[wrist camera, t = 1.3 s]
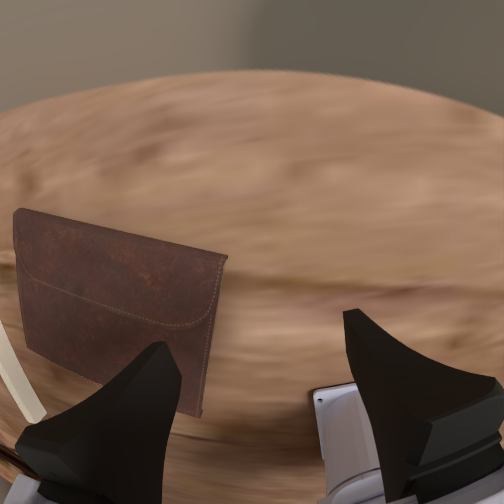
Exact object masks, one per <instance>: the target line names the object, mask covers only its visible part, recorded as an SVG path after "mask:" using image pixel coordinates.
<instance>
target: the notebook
mask: <svg viewBox="0 0 504 504" xmlns="http://www.w3.org/2000/svg"><path fill="white" fill-rule="evenodd" d="M13 243H14V250H15V254H16V267H17V280H18V290H19V299H20V307H21V314H22V321H23V327H24V333H25V339H26V344H27V348H29V349H30V350H32V351H34V352H36V353H38V354H40V355H41V356H43V357H45V358H47V359H49V360H51V361H53V362H55V363H57V364H59V365H61V366H63V367H65V368H67V369H69V370H71V371H73V372H75V373H77V374H80V375H82V376H84V377H86V378H88V379H91V380H93V381H95V382H97V383H100V384H102V385H106V384H107V383H108V382H109V381H110V380H112V379H113V378H114V377H115V376H116V375H117V374H119V373H120V372H121V371H122V370H123V369H124V368H125V367H126V366H127V365H128V364H129V363H130V362H131V361H133V360H134V359H135V358H136V357H137V356H138V355H139V354H140V353H141V352H142V351H143V350H144V349H145V348H146V347H148V346H149V345H150V344H151V343H153V342H160V341H166V343H167V345H168V347H169V350H170V352H171V354H172V356H173V358H174V360H175V362H176V364H177V367H178V369H179V371H180V373H181V375H182V383H181V391H180V398H179V401H178V405H177V409H176V412H179V413H183V414H186V415H190V416H193V417H197V418H200V417H201V415H202V411H203V410H202V404H203V398H204V391H205V384H206V378H207V371H208V365H209V358H210V352H211V346H212V340H213V333H214V327H215V321H216V315H217V309H218V303H219V297H220V291H221V286H222V280H223V274H224V268H225V263H226V262H225V261H226V259H228V255H224V254H219V253H215V252H210V251H206V250H202V249H197V248H193V247H188V246H184V245H179V244H175V243H171V242H166V241H162V240H158V239H153V238H149V237H144V236H140V235H136V234H131V233H127V232H123V231H118V230H114V229H110V228H105V227H101V226H97V225H93V224H88V223H84V222H80V221H76V220H71V219H67V218H63V217H59V216H54V215H50V214H46V213H42V212H37V211H33V210H29V209H25V208H19V209H17V210H16V211H15V212H14V213H13Z"/></svg>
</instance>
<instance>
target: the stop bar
mask: <svg viewBox="0 0 504 504" xmlns="http://www.w3.org/2000/svg"><path fill="white" fill-rule="evenodd" d="M0 375H1V376H2V378H3V380H4V382H5V384H6V386H7V388H8V389H9V391H10V393H11V395H12V396H13V398H14V400H15V402H16V403H17V405H18V407H19V408H20V410H21V411H22V413H23V415H24V416H25V418H26V419H27V421H28V422H30V423H34V424H36V423H38V422H39V421H40V420H41V419H42V418H43V417H44V416H45V415H46V414H47V412H46V410H45V409H44V407H43V405H42V404H41V402H40V400H39V399H38V397H37V395H36V393H35V392H34V390H33V388H32V386H31V384H30V383H29V381H28V379H27V377H26V375H25V373H24V371H23V369H22V367H21V365H20V363H19V361H18V359H17V357H16V355H15V353H14V351H13V348H12V346H11V344H10V342H9V339H8V337H7V335H6V332H5V330H4V328H3V325H2V323H1V320H0Z"/></svg>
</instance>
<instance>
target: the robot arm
mask: <svg viewBox="0 0 504 504" xmlns="http://www.w3.org/2000/svg"><path fill="white" fill-rule="evenodd" d="M343 319H344V330H345V343H346V353H347V357H348V361H349V365H350V369H351V373H352V375H353V378H354V380H355V383H352V384H347V385H341V386H336V387H330V388H324V389H318V390H316V391H314V393H313V399H314V405H315V412H316V419H317V425H318V432H319V439H320V446H321V453H322V459H323V460H324V461H325V480H326V497H325V498H323V499H320V500H318V501H317V504H504V449H502V447H501V445H500V443H499V442H501V440H502V436H501V434H500V433H499V431H498V429H499V428H500V426H501V424H502V422H503V420H504V389H503V387H502V386H501V384H500V383H499V382H498V381H497V380H496V378H495V377H490V376H484V375H479V374H474V373H469V372H466V371H462V370H459V369H455V368H452V367H449V366H446V365H444V364H441V363H439V362H437V361H434V360H432V359H430V358H427V357H425V356H423V355H421V354H420V353H418V352H416V351H414V350H412V349H410V348H409V347H407V346H406V345H404V344H403V343H401V342H400V341H398V340H397V339H395V338H394V337H392V336H391V335H390V334H389V333H387V332H386V331H385V330H383V329H382V328H381V327H380V326H378V325H377V324H376V323H375V322H374V321H372V320H371V319H370V318H369V317H368V316H367V315H366V314H364V313H363V312H362V311H361V310H360V309H358V308H357V309H352V310H348V311H343ZM181 383H182V375H181V373H180V371H179V369H178V367H177V364H176V362H175V360H174V358H173V356H172V354H171V352H170V350H169V347H168V345H167V343H166V341H160V342H153V343H151V344H150V345H149V346H148V347H146V348H145V349H144V350H143V351H142V352H141V353H140V354H139V355H138V356H137V357H136V358H135V359H134V360H133V361H131V362H130V363H129V364H128V365H127V366H126V367H125V368H124V369H123V370H122V371H121V372H120V373H119V374H117V375H116V376H115V377H114V378H113V379H112V380H110V381H109V382H108V383H107V384H106V385H105V386H103V387H102V388H101V389H100V390H98V391H97V392H96V393H94V394H93V395H91V396H90V397H88V398H87V399H85V400H84V401H82V402H81V403H79V404H77V405H75V406H74V407H72V408H70V409H69V410H67V411H65V412H63V413H61V414H59V415H56V416H54V417H52V418H50V419H47V420H44V421H42V422H39V423H36V424H33V425H30V426H27V427H26V428H25V429H24V431H23V432H22V434H21V436H20V437H19V439H18V441H17V442H16V444H15V449H16V451H17V453H18V455H19V456H20V457H21V458H22V459H23V460H24V461H25V462H26V463H27V464H28V465H29V466H30V467H31V468H32V469H33V470H34V471H35V472H36V473H37V474H38V475H40V476H41V477H42V478H43V479H42V481H41V483H39V482H38V481H36V480H34V479H32V478H29V477H27V476H24V475H22V474H18V475H17V477H16V479H15V481H14V483H13V485H12V487H11V489H10V491H9V493H8V495H7V497H6V499H5V501H4V504H162V480H163V469H164V460H165V452H166V446H167V441H168V437H169V433H170V430H171V426H172V423H173V419H174V416H175V412H176V409H177V405H178V401H179V398H180V391H181ZM318 399H322V400H318Z"/></svg>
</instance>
